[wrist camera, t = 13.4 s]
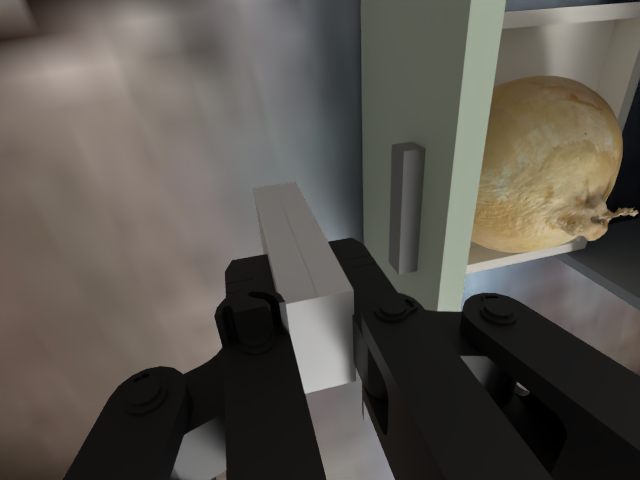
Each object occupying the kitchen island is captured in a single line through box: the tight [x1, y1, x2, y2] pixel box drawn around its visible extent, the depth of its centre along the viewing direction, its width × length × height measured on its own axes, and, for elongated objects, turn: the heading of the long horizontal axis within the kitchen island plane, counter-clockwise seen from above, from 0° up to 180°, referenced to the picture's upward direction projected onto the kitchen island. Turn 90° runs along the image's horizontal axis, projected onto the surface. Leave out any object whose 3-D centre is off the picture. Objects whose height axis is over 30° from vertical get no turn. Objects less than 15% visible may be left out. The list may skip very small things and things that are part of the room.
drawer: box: [361, 0, 640, 312], centre depth 17 cm, size 14×16×8 cm
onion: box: [471, 76, 638, 253], centre depth 17 cm, size 8×8×7 cm
